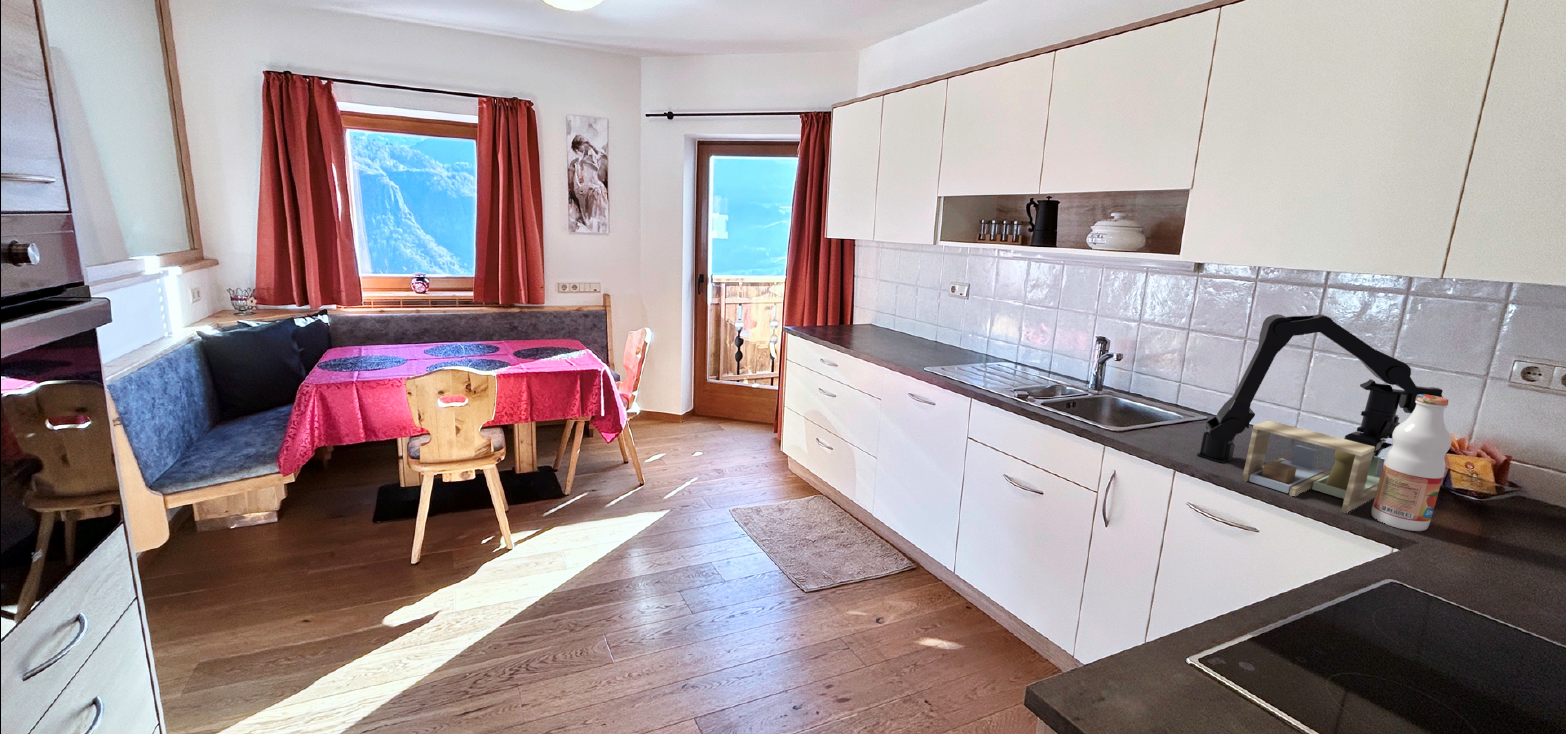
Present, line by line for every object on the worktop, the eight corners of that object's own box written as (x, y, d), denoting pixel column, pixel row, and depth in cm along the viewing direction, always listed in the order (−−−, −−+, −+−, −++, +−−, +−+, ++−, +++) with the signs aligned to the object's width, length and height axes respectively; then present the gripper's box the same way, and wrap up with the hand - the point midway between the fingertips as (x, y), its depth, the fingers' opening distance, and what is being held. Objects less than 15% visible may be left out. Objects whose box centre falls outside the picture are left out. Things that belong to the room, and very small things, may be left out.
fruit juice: (1363, 509, 153) (1394, 388, 147) (1416, 518, 150) (1450, 395, 143) (1379, 526, 145) (1413, 399, 138) (1436, 536, 141) (1474, 406, 135)
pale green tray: (1311, 489, 163) (1318, 463, 161) (1343, 473, 174) (1349, 449, 172) (1354, 501, 156) (1360, 474, 155) (1384, 485, 167) (1390, 459, 166)
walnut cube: (1259, 483, 166) (1264, 464, 165) (1268, 479, 169) (1273, 460, 168) (1283, 490, 162) (1287, 471, 161) (1292, 486, 165) (1296, 467, 164)
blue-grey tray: (1249, 481, 166) (1254, 455, 165) (1283, 466, 177) (1289, 442, 175) (1287, 493, 159) (1293, 466, 158) (1321, 477, 170) (1327, 452, 169)
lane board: (1241, 480, 167) (1253, 424, 164) (1279, 465, 179) (1291, 412, 176) (1346, 514, 150) (1362, 452, 147) (1380, 494, 162) (1395, 437, 159)
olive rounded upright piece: (1325, 494, 161) (1336, 450, 158) (1320, 485, 166) (1331, 443, 163) (1358, 500, 158) (1369, 456, 155) (1352, 491, 163) (1363, 448, 160)
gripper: (1410, 423, 154) (1393, 488, 158) (1436, 414, 164) (1419, 474, 168) (1350, 410, 163) (1335, 471, 167) (1378, 401, 173) (1363, 459, 177)
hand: (1364, 469), depth 169 cm, fingers closed
